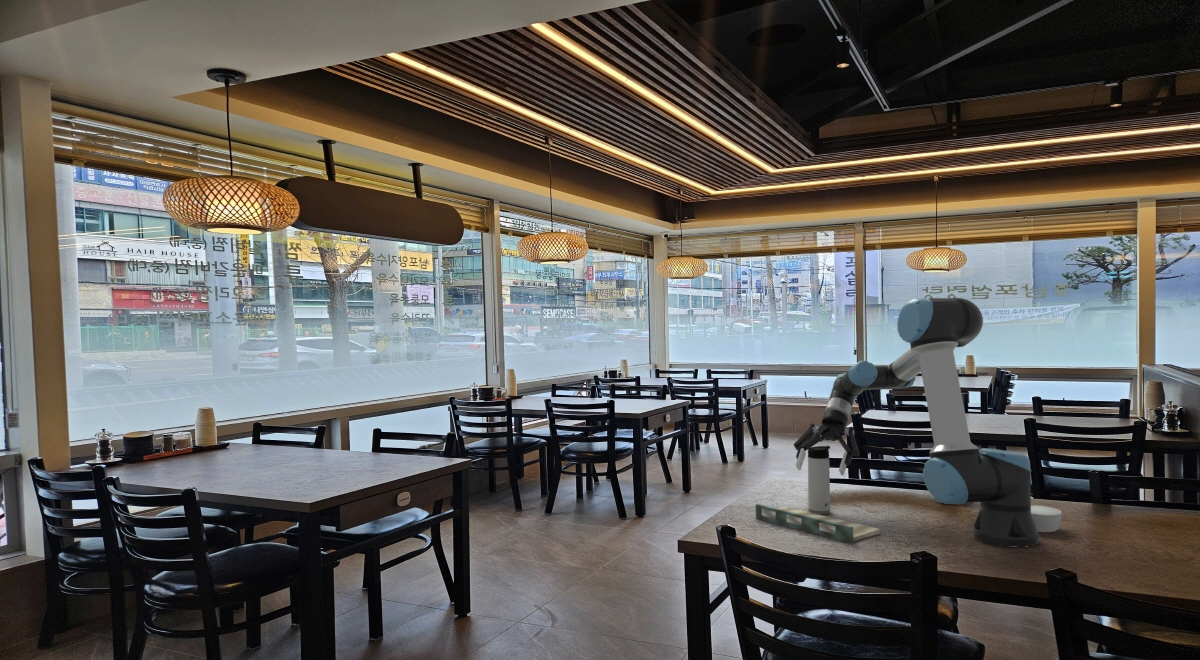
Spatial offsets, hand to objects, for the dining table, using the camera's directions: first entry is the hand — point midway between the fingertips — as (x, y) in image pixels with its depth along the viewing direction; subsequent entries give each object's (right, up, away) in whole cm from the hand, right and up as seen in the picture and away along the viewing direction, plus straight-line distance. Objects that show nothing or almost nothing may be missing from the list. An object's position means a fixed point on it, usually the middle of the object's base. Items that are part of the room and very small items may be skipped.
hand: (819, 470), depth 224 cm
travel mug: (0, -12, -2) cm, 13 cm away
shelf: (-6, -13, -16) cm, 21 cm away
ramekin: (+53, -12, -23) cm, 59 cm away
